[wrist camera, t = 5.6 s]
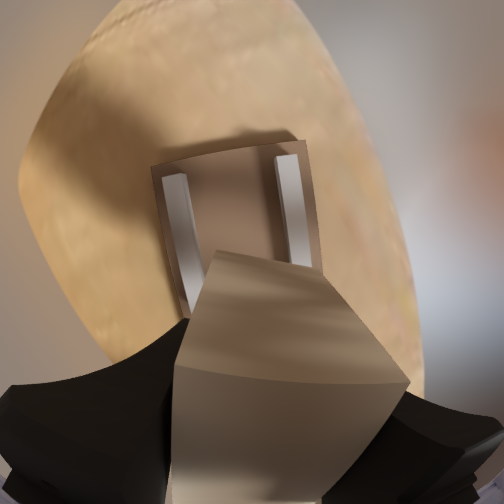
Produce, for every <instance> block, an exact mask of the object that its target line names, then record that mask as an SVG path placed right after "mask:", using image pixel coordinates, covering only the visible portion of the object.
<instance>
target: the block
mask: <svg viewBox="0 0 504 504" xmlns="http://www.w3.org/2000/svg"><path fill="white" fill-rule="evenodd" d="M409 384H410V380H409V379H408V378H407V376H406V375H405V374H404V373H403V371H402V370H401V369H400V367H399V366H398V365H397V364H396V362H395V361H394V360H393V359H392V357H391V356H390V355H389V353H388V352H387V351H386V350H385V348H384V347H383V346H382V345H381V344H380V342H379V341H378V340H377V339H376V337H375V336H374V335H373V334H372V332H371V331H370V330H369V329H368V328H367V326H366V325H365V324H364V323H363V321H362V320H361V319H360V318H359V317H358V315H357V314H356V313H355V312H354V311H353V309H352V308H351V307H350V306H349V305H348V304H347V302H346V301H345V300H344V299H343V298H342V296H341V295H340V294H339V293H338V292H337V291H336V289H335V288H334V287H333V286H332V285H331V284H330V282H329V281H328V280H327V279H326V278H325V277H324V275H323V274H322V273H321V272H320V271H319V270H318V269H317V268H313V267H308V266H302V265H297V264H292V263H286V262H281V261H276V260H270V259H265V258H260V257H254V256H249V255H244V254H238V253H233V252H228V251H222V250H217V249H216V251H215V253H214V256H213V259H212V261H211V264H210V267H209V269H208V272H207V274H206V277H205V280H204V282H203V285H202V288H201V291H200V293H199V296H198V299H197V301H196V304H195V307H194V310H193V312H192V315H191V318H190V321H189V324H188V326H187V329H186V332H185V335H184V338H183V341H182V344H181V346H180V349H179V352H178V355H177V358H176V361H175V364H174V378H173V397H172V428H171V472H172V473H171V474H172V502H173V504H315V503H316V502H317V501H318V500H319V499H320V498H321V497H322V496H323V495H324V494H325V493H326V492H327V491H328V490H329V489H330V488H331V487H332V486H333V485H334V484H335V483H336V482H337V481H338V480H339V479H340V478H341V477H342V476H343V475H344V474H345V472H346V471H347V470H348V469H349V468H350V467H351V466H352V464H353V463H354V462H355V461H356V460H357V459H358V457H359V456H360V455H361V454H362V452H363V451H364V450H365V449H366V447H367V446H368V445H369V444H370V442H371V441H372V440H373V438H374V437H375V436H376V434H377V433H378V432H379V430H380V429H381V427H382V426H383V425H384V423H385V422H386V420H387V419H388V417H389V416H390V414H391V413H392V411H393V410H394V408H395V407H396V405H397V404H398V402H399V401H400V399H401V397H402V396H403V394H404V392H405V391H406V389H407V387H408V386H409Z"/></svg>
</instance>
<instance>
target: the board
mask: <svg viewBox="0 0 504 504" xmlns="http://www.w3.org/2000/svg"><path fill="white" fill-rule="evenodd" d="M151 172H152V178H153V184H154V190H155V196H156V201H157V206H158V212H159V217H160V222H161V227H162V232H163V236H164V241H165V246H166V250H167V254H168V259H169V263H170V267H171V271H172V275H173V279H174V283H175V287H176V291H177V295H178V299H179V302H180V306H181V310H182V313H183V317H184V318H189V319H190V318H191V315H192V312H193V310H194V307H195V304H196V301H197V299H198V296H199V293H200V291H201V288H202V285H203V282H204V280H205V277H206V274H207V272H208V269H209V267H210V264H211V261H212V259H213V256H214V253H215V251H216V249H217V250H222V251H228V252H233V253H238V254H244V255H249V256H254V257H260V258H265V259H270V260H276V261H281V262H286V263H292V264H297V265H302V266H308V267H313V268H317V269H318V270H319V271H320V272H321V273H322V274H323V269H322V258H321V248H320V238H319V229H318V221H317V212H316V205H315V197H314V190H313V183H312V176H311V170H310V163H309V157H308V151H307V145H306V140H299V141H290V142H281V143H273V144H265V145H258V146H251V147H244V148H238V149H232V150H226V151H221V152H215V153H210V154H205V155H200V156H195V157H190V158H186V159H181V160H177V161H172V162H168V163H164V164H160V165H156V166H152V167H151Z"/></svg>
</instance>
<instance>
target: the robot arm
mask: <svg viewBox="0 0 504 504" xmlns="http://www.w3.org/2000/svg"><path fill="white" fill-rule="evenodd" d="M189 321H190V319H189V318H184V319H182V320H181V321H180V322H178V323H177V324H176V325H175V326H174V327H173V328H171V329H170V330H169V331H168V332H166V333H165V334H164V335H162V336H161V337H160V338H158V339H157V340H156V341H154V342H153V343H152V344H150V345H149V346H147V347H145V348H144V349H142V350H141V351H139V352H138V353H136V354H134V355H132V356H131V357H129V358H127V359H125V360H123V361H121V362H119V363H116V364H114V365H112V366H109V367H107V368H104V369H101V370H98V371H95V372H92V373H89V374H86V375H83V376H79V377H75V378H71V379H66V380H61V381H56V382H49V383H41V384H27V385H11V386H10V387H9V388H8V390H7V391H6V392H5V393H4V394H3V395H2V396H1V398H0V454H1V456H2V457H3V458H4V459H5V461H6V462H7V463H8V464H9V466H10V467H11V468H12V471H11V472H10V474H9V476H8V478H7V479H6V478H4V477H3V476H2V475H0V504H165V497H166V490H167V484H168V478H169V472H170V466H171V428H172V397H173V378H174V364H175V361H176V358H177V355H178V352H179V349H180V346H181V344H182V341H183V338H184V335H185V332H186V329H187V326H188V324H189ZM503 439H504V427H503V426H502V425H501V423H500V422H499V421H498V420H497V419H495V418H493V417H488V416H481V415H474V414H468V413H464V412H459V411H456V410H452V409H448V408H445V407H442V406H439V405H437V404H434V403H431V402H429V401H426V400H424V399H422V398H419V397H417V396H415V395H413V394H411V393H409V392H407V391H405V392H404V394H403V396H402V397H401V399H400V401H399V402H398V404H397V405H396V407H395V408H394V410H393V411H392V413H391V414H390V416H389V417H388V419H387V420H386V422H385V423H384V425H383V426H382V427H381V429H380V430H379V432H378V433H377V434H376V436H375V437H374V438H373V440H372V441H371V442H370V444H369V445H368V446H367V447H366V449H365V450H364V451H363V452H362V454H361V455H360V456H359V457H358V459H357V460H356V461H355V462H354V463H353V464H352V466H351V467H350V468H349V469H348V470H347V471H346V472H345V474H344V475H343V476H342V477H341V478H340V479H339V480H338V481H337V482H336V483H335V484H334V485H333V486H332V487H331V488H330V489H329V490H328V491H327V492H326V493H325V494H324V495H323V496H322V497H321V498H322V504H504V469H503V470H502V471H501V472H500V473H499V474H498V475H497V476H496V477H495V478H494V480H492V481H491V482H490V483H488V484H487V485H485V486H484V487H482V488H481V489H479V490H478V491H476V490H475V488H474V487H473V485H472V484H473V483H474V482H476V480H477V477H476V476H475V474H474V472H475V471H476V470H477V469H478V468H479V467H480V466H481V465H482V464H483V463H484V462H485V461H486V460H487V459H488V458H489V457H490V456H491V455H492V453H493V452H494V451H495V450H496V449H497V448H498V446H499V445H500V443H501V442H502V441H503Z"/></svg>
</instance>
